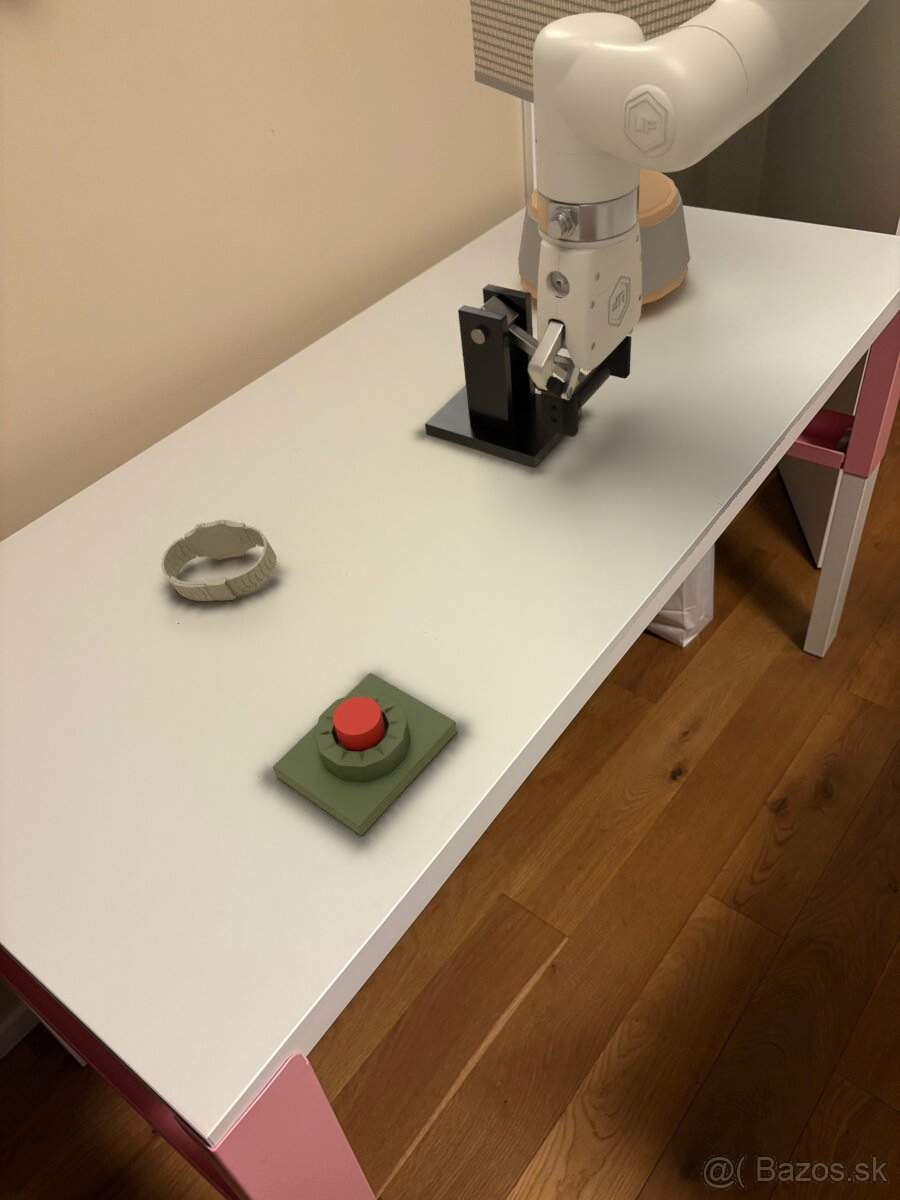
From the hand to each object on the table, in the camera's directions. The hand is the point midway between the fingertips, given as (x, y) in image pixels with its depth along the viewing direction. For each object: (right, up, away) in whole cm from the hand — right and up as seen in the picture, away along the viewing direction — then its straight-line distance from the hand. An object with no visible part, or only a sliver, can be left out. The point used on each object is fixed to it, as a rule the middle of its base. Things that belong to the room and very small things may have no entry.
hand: (587, 401), depth 83 cm
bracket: (-7, -1, +8) cm, 10 cm away
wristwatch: (-31, -16, -4) cm, 35 cm away
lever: (-5, +4, 0) cm, 6 cm away
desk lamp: (+5, +18, +25) cm, 31 cm away
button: (-18, -26, -20) cm, 37 cm away
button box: (-18, -28, -18) cm, 38 cm away
